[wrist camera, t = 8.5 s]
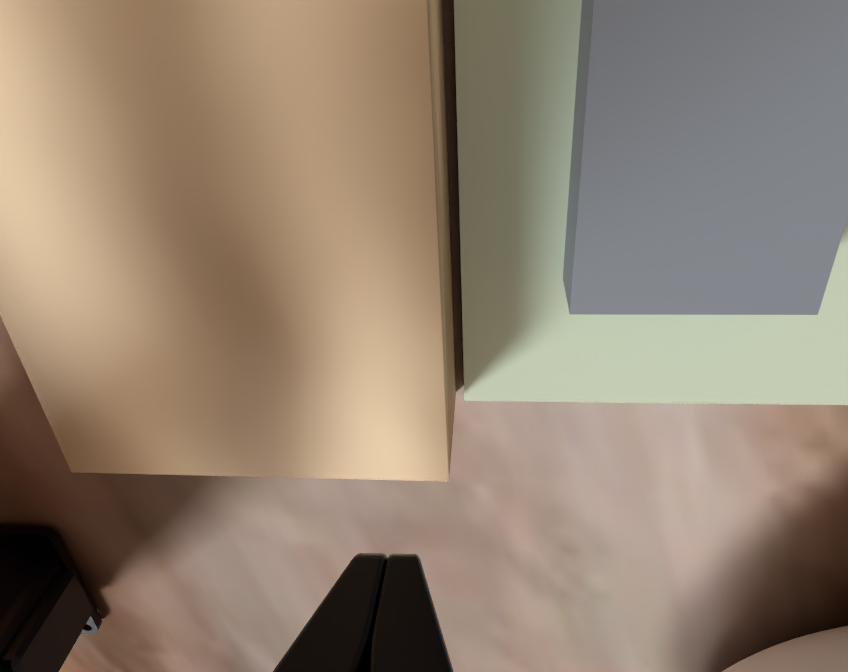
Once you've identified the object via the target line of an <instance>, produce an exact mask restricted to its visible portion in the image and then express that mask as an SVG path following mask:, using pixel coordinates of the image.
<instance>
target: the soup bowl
mask: <svg viewBox="0 0 848 672" xmlns="http://www.w3.org/2000/svg"><path fill="white" fill-rule="evenodd" d="M722 672H848V626H845V627H839V628H834V629H830V630H825V631H820V632H816V633H813V634H809V635H805V636H801V637H798V638H795V639H792V640H789V641H786V642H783V643H780V644H777V645H775V646H772V647H770V648H767V649H765V650H763V651H760V652H758V653H756V654H753V655H751V656H749V657H747V658H745V659H743V660H741V661H739V662H737V663H736V664H734V665H732V666H730V667H729V668H727V669H725V670H724V671H722Z"/></svg>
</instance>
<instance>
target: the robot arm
mask: <svg viewBox="0 0 848 672" xmlns="http://www.w3.org/2000/svg"><path fill="white" fill-rule="evenodd" d="M101 623H102V620H101V618H100V616H99V614H98V612H97V610H96V608H95V606H94V604H93V602H92V600H91V598H90V596H89V594H88V592H87V590H86V588H85V586H84V584H83V582H82V580H81V578H80V576H79V574H78V572H77V570H76V568H75V566H74V564H73V562H72V560H71V558H70V556H69V554H68V552H67V550H66V548H65V546H64V544H63V542H62V540H61V538H60V536H59V534H58V533H57V532H56V531H54V530H53V529H51V528H48V527H41V526H10V525H0V672H59V670H60V668H61V666H62V665H63V663H64V661H65V660H66V658H67V656H68V654H69V653H70V651H71V649H72V647H73V646H74V644H75V642H76V640H77V639H78V637H79V635H80V634H95V633H96V632H97V631H98V629H99V627H100V625H101ZM273 672H453V668H452V665H451V662H450V658H449V655H448V652H447V648H446V645H445V642H444V638H443V635H442V631H441V628H440V625H439V621H438V618H437V615H436V611H435V608H434V605H433V601H432V598H431V595H430V591H429V588H428V584H427V581H426V578H425V574H424V571H423V568H422V564H421V561H420V558H419V557H418V555H416V554H391V555H389V557H388V558H387V556H386V555H385V554H382V553H360V554H357V555H356V556H355V557H354V558H353V559H352V560H351V562H350V563H349V565H348V566H347V567H346V569H345V570H344V572H343V573H342V575H341V576H340V577H339V579H338V580H337V582H336V583H335V584H334V586H333V587H332V589H331V590H330V591H329V593H328V594H327V596H326V597H325V599H324V600H323V601H322V603H321V604H320V606H319V607H318V608H317V610H316V611H315V613H314V614H313V616H312V617H311V618H310V620H309V621H308V623H307V624H306V625H305V627H304V628H303V630H302V631H301V633H300V634H299V635H298V637H297V638H296V640H295V641H294V642H293V644H292V645H291V647H290V648H289V650H288V651H287V652H286V654H285V655H284V657H283V658H282V659H281V661H280V662H279V664H278V665H277V666H276V668H275V669H274V671H273Z"/></svg>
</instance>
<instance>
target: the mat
mask: <svg viewBox="0 0 848 672" xmlns="http://www.w3.org/2000/svg"><path fill="white" fill-rule="evenodd" d="M581 7H582V0H454V25H455V62H456V100H457V137H458V175H459V212H460V250H461V287H462V325H463V362H464V399H465V401H532V402H622V403H712V404H803V405H848V218H847V221H846V225H845V228H844V231H843V234H842V238H841V241H840V244H839V247H838V251H837V254H836V257H835V260H834V264H833V267H832V270H831V273H830V277H829V280H828V283H827V286H826V290H825V293H824V296H823V299H822V303H821V306H820V309H819V313H818V315H585V314H569V309H568V303H567V298H566V293H565V288H564V283H563V267H564V252H565V238H566V224H567V209H568V195H569V180H570V166H571V151H572V137H573V122H574V108H575V94H576V79H577V65H578V50H579V36H580V21H581Z"/></svg>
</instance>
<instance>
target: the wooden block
mask: <svg viewBox="0 0 848 672" xmlns="http://www.w3.org/2000/svg"><path fill="white" fill-rule="evenodd" d="M0 316H1V318H2V320H3V323H4V325H5V327H6V329H7V331H8V334H9V336H10V338H11V340H12V342H13V345H14V347H15V349H16V351H17V353H18V356H19V358H20V360H21V362H22V364H23V367H24V369H25V371H26V373H27V375H28V378H29V380H30V382H31V384H32V387H33V389H34V391H35V393H36V395H37V398H38V400H39V402H40V404H41V406H42V409H43V411H44V413H45V415H46V417H47V420H48V422H49V424H50V426H51V428H52V431H53V433H54V435H55V437H56V440H57V442H58V444H59V446H60V448H61V451H62V453H63V455H64V457H65V459H66V462H67V464H68V466H69V468H70V470H71V472H74V473H116V474H159V475H201V476H244V477H287V478H329V479H372V480H414V481H449V473H450V460H451V447H452V435H453V422H454V409H455V396H456V387H455V358H454V330H453V301H452V273H451V245H450V216H449V188H448V160H447V131H446V103H445V74H444V46H443V18H442V0H0Z"/></svg>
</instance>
